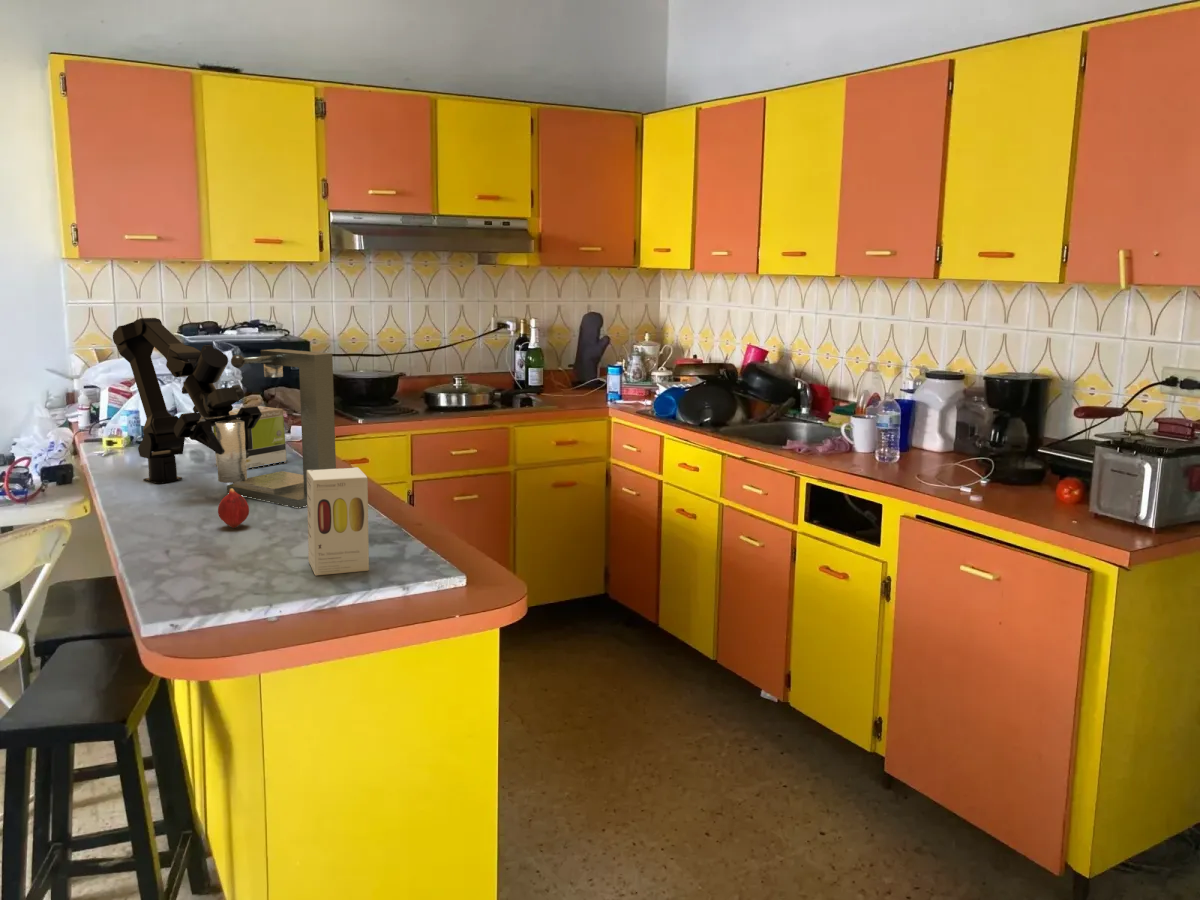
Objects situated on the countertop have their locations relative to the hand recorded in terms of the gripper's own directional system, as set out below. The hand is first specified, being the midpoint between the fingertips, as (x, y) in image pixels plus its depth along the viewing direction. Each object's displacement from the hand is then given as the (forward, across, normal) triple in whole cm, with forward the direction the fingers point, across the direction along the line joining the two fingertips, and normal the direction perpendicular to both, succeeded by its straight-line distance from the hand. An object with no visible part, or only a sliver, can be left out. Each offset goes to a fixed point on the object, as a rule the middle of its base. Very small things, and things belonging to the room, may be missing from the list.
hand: (234, 451), depth 216 cm
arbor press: (+10, +9, +6) cm, 15 cm away
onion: (+22, -12, -6) cm, 26 cm away
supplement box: (+47, -15, -31) cm, 59 cm away
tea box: (-16, +25, +32) cm, 44 cm away
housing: (+4, 0, +6) cm, 7 cm away
